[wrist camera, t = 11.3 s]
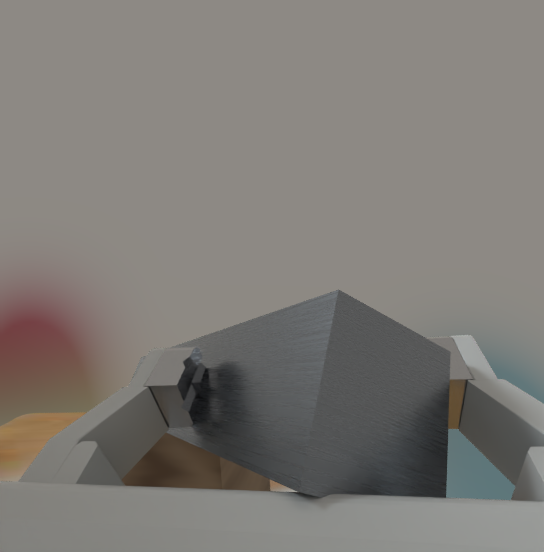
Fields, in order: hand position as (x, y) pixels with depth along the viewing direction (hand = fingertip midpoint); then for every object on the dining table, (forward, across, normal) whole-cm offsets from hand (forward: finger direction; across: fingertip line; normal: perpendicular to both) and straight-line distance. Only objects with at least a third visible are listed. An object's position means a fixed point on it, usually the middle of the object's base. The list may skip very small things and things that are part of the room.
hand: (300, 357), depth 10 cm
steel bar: (0, +5, +5) cm, 7 cm away
